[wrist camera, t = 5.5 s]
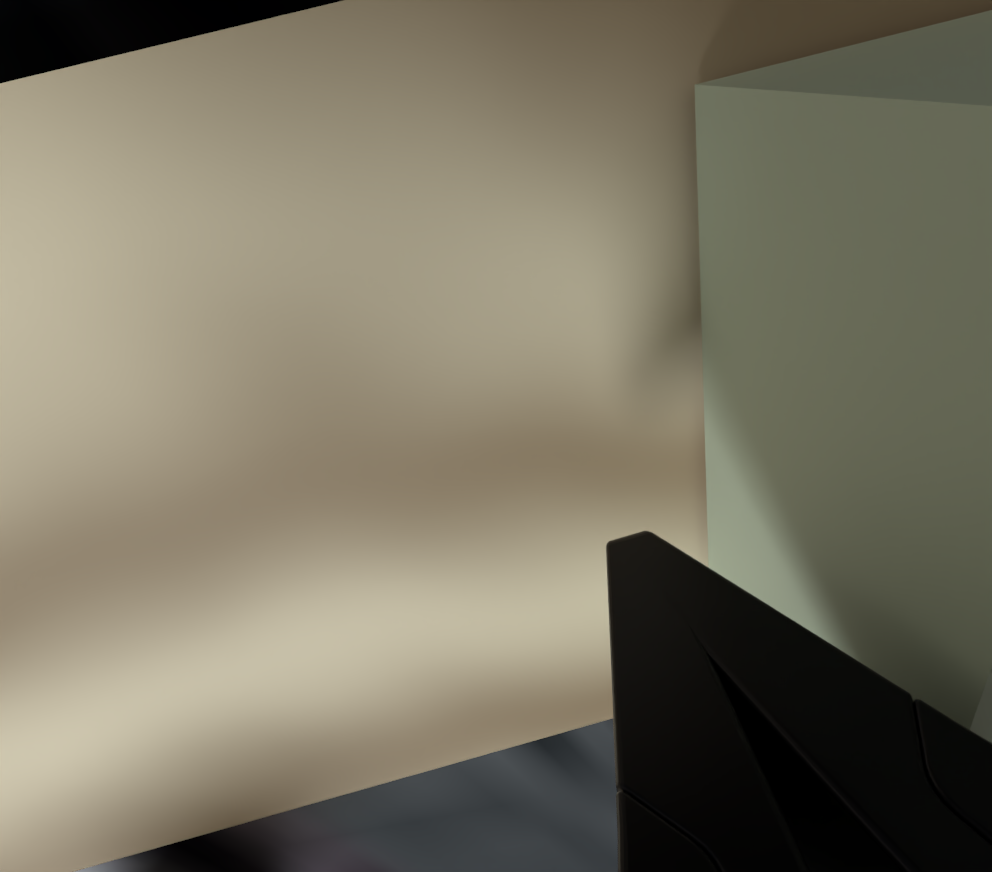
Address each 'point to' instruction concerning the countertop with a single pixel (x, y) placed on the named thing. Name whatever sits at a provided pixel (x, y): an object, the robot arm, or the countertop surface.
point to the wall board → (345, 392)
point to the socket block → (856, 350)
